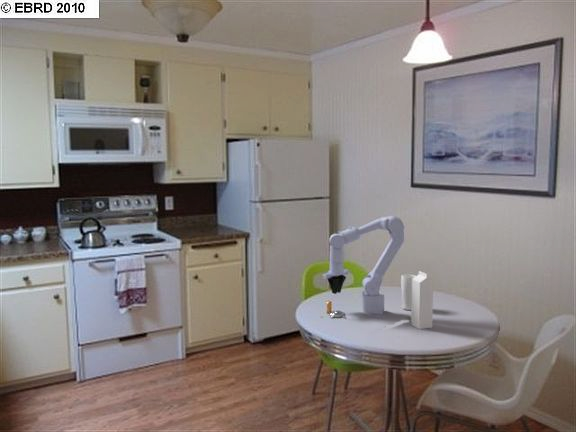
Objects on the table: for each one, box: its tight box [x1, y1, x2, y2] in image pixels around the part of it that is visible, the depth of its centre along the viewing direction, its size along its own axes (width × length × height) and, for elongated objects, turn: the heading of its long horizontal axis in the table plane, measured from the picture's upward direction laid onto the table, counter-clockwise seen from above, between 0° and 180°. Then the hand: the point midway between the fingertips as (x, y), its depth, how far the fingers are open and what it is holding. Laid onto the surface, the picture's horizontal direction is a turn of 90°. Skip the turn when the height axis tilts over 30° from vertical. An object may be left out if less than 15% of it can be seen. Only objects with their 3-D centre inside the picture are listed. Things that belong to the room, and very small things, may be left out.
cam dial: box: [326, 300, 346, 319], centre depth 204 cm, size 10×8×5 cm
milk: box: [410, 270, 434, 330], centre depth 193 cm, size 6×6×22 cm
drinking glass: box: [400, 273, 417, 311], centre depth 216 cm, size 7×7×15 cm
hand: (336, 292), depth 210 cm, fingers closed
